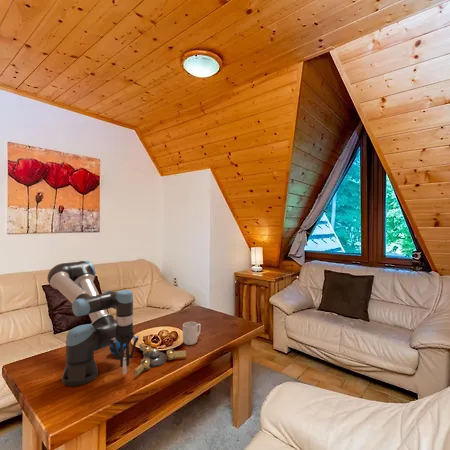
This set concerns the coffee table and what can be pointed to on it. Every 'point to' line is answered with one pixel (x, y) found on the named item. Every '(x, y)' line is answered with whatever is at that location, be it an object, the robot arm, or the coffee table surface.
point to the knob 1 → (145, 349)
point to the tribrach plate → (157, 361)
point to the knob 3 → (175, 354)
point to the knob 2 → (143, 366)
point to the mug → (190, 332)
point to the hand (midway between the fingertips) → (124, 372)
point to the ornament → (117, 347)
